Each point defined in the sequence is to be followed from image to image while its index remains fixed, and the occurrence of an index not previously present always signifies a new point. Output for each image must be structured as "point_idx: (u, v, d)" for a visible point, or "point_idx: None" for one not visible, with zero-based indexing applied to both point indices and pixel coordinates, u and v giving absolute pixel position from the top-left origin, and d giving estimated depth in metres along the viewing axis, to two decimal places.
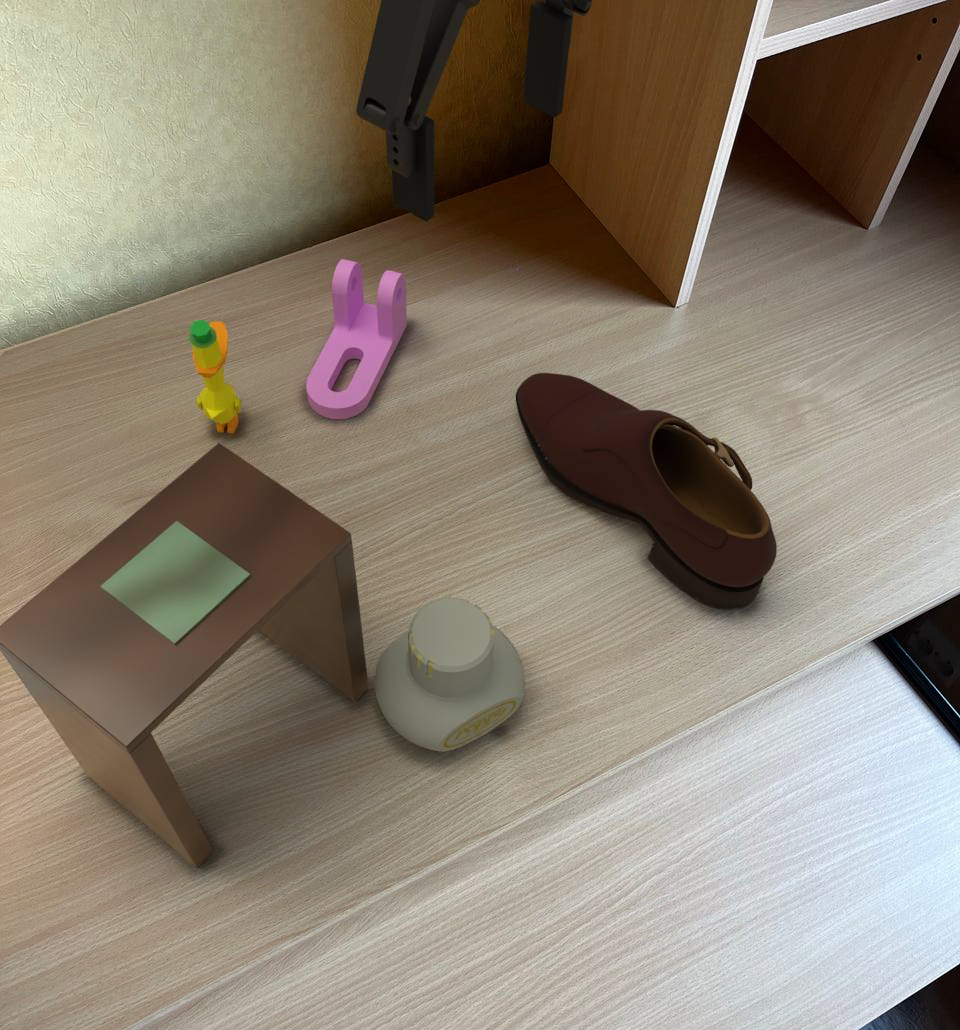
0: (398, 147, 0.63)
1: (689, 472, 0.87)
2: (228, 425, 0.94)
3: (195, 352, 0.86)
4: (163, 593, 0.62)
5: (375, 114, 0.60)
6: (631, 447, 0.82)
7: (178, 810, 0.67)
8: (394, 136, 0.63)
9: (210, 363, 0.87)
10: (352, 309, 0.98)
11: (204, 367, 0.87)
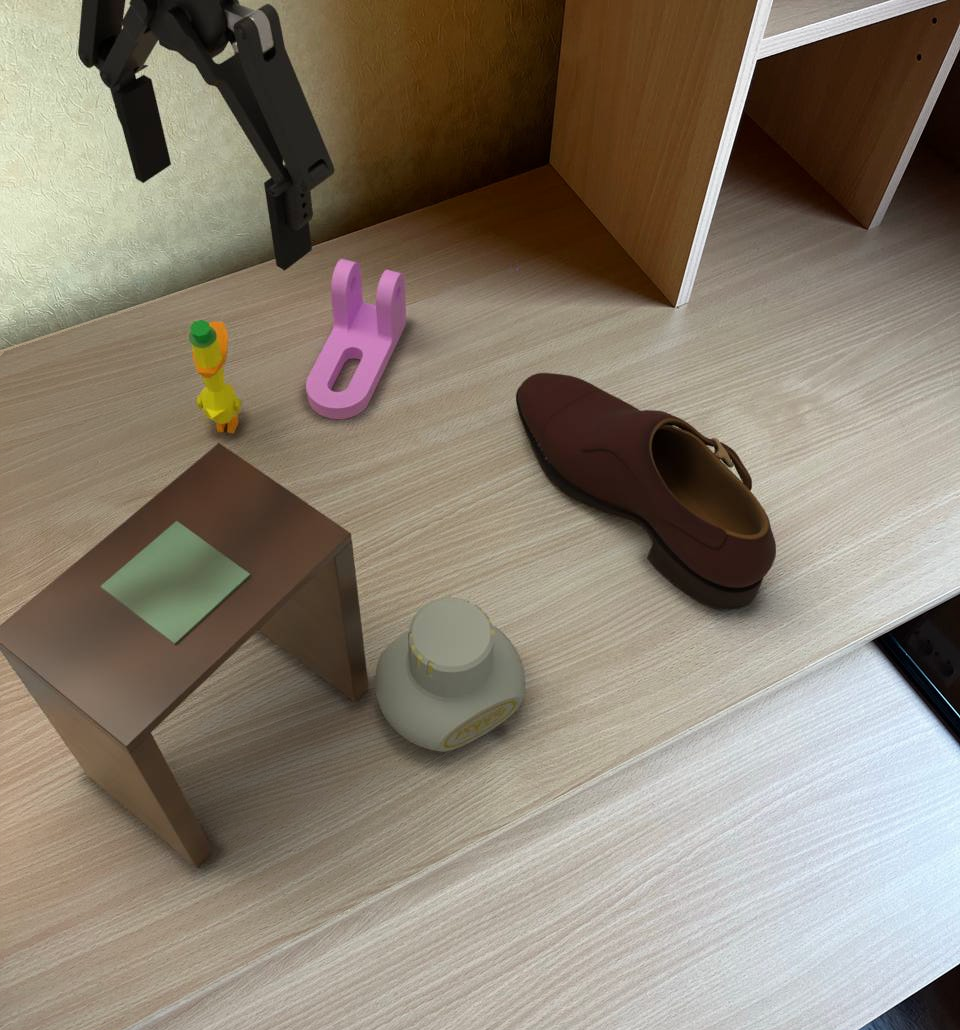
0: (306, 199, 0.69)
1: (689, 472, 0.87)
2: (228, 425, 0.94)
3: (195, 352, 0.86)
4: (163, 593, 0.62)
5: (320, 172, 0.66)
6: (630, 447, 0.82)
7: (178, 810, 0.67)
8: (299, 195, 0.69)
9: (210, 363, 0.87)
10: (351, 308, 0.98)
11: (204, 367, 0.87)
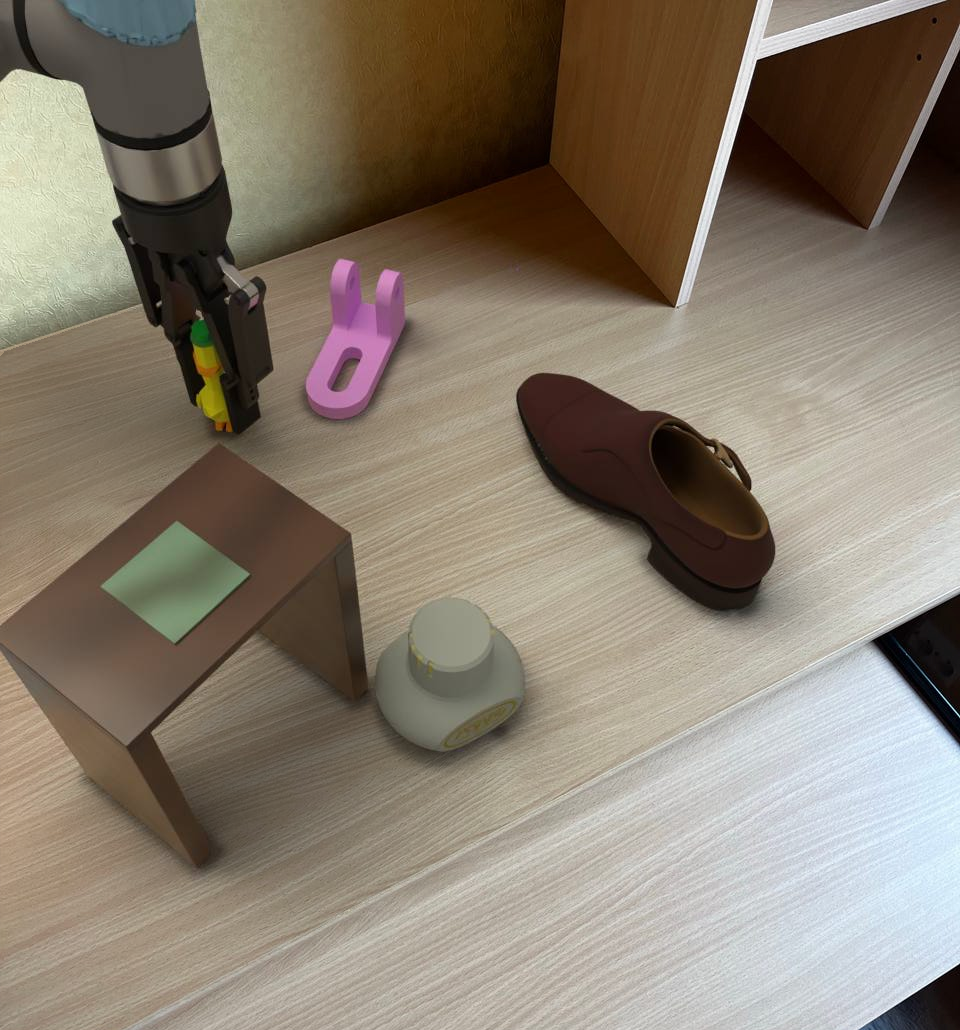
0: (253, 387, 0.88)
1: (689, 473, 0.87)
2: (227, 424, 0.94)
3: (196, 352, 0.86)
4: (163, 593, 0.62)
5: (263, 375, 0.85)
6: (630, 448, 0.82)
7: (178, 810, 0.67)
8: None
9: (210, 363, 0.87)
10: (350, 308, 0.98)
11: (204, 367, 0.87)
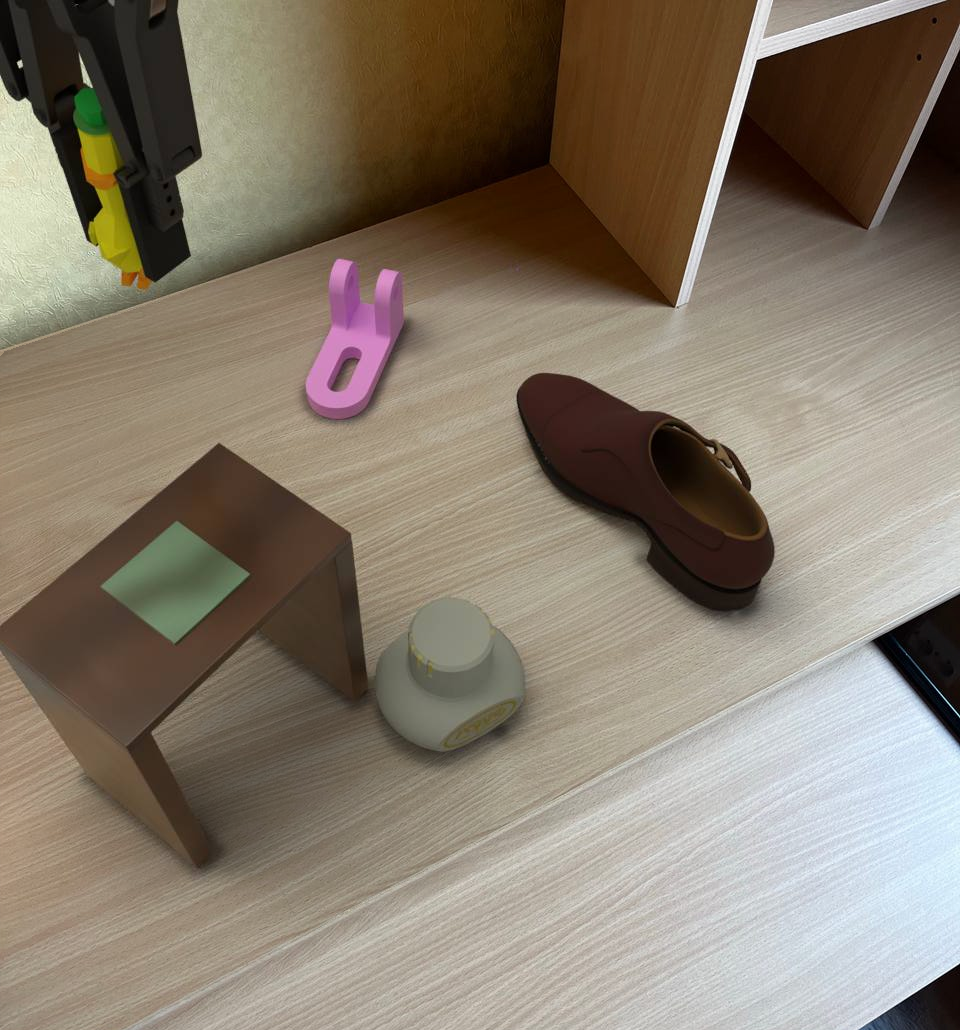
0: (171, 192, 0.54)
1: (689, 473, 0.87)
2: (139, 276, 0.62)
3: (83, 143, 0.53)
4: (163, 593, 0.62)
5: (185, 162, 0.52)
6: (630, 448, 0.82)
7: (178, 810, 0.67)
8: (162, 187, 0.54)
9: (107, 166, 0.54)
10: (349, 308, 0.98)
11: (97, 171, 0.54)
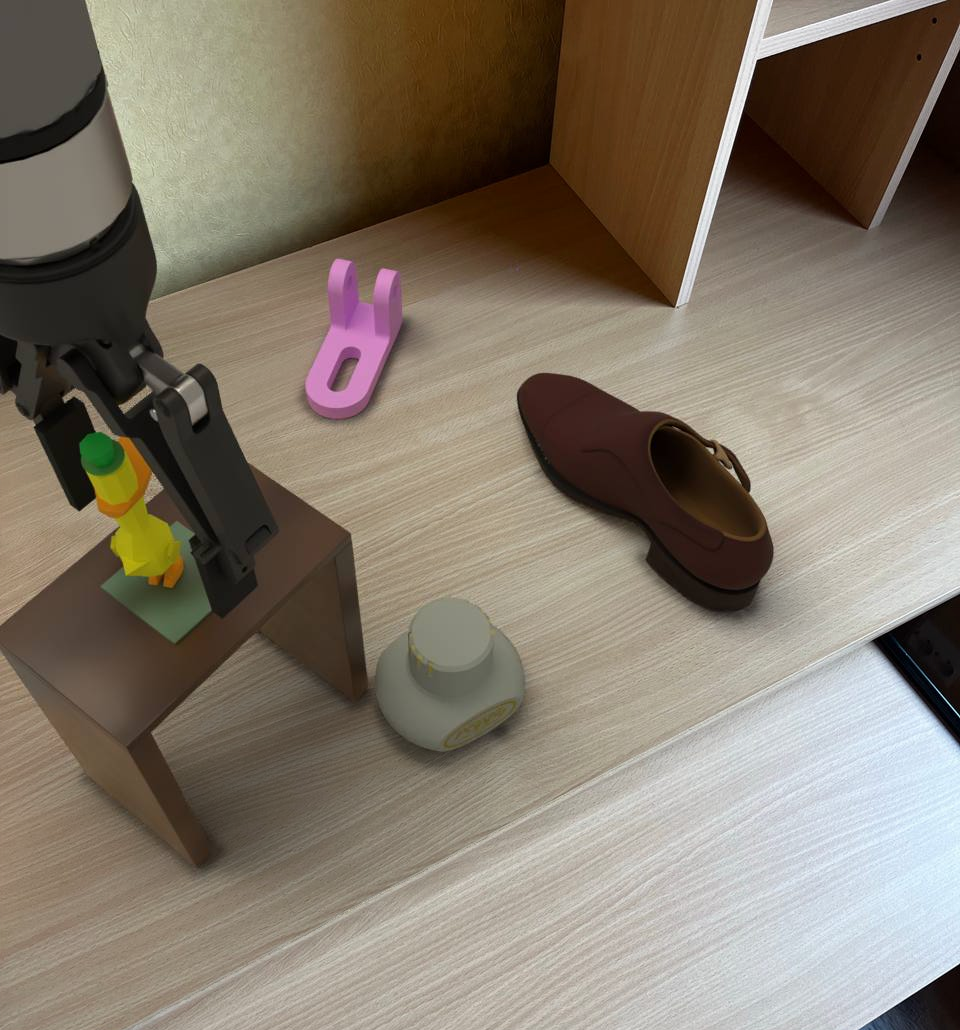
0: None
1: (688, 474, 0.87)
2: (165, 575, 0.62)
3: (92, 480, 0.54)
4: (163, 593, 0.62)
5: (260, 541, 0.51)
6: (629, 448, 0.82)
7: (178, 810, 0.67)
8: None
9: (117, 497, 0.55)
10: (348, 308, 0.98)
11: (108, 502, 0.55)
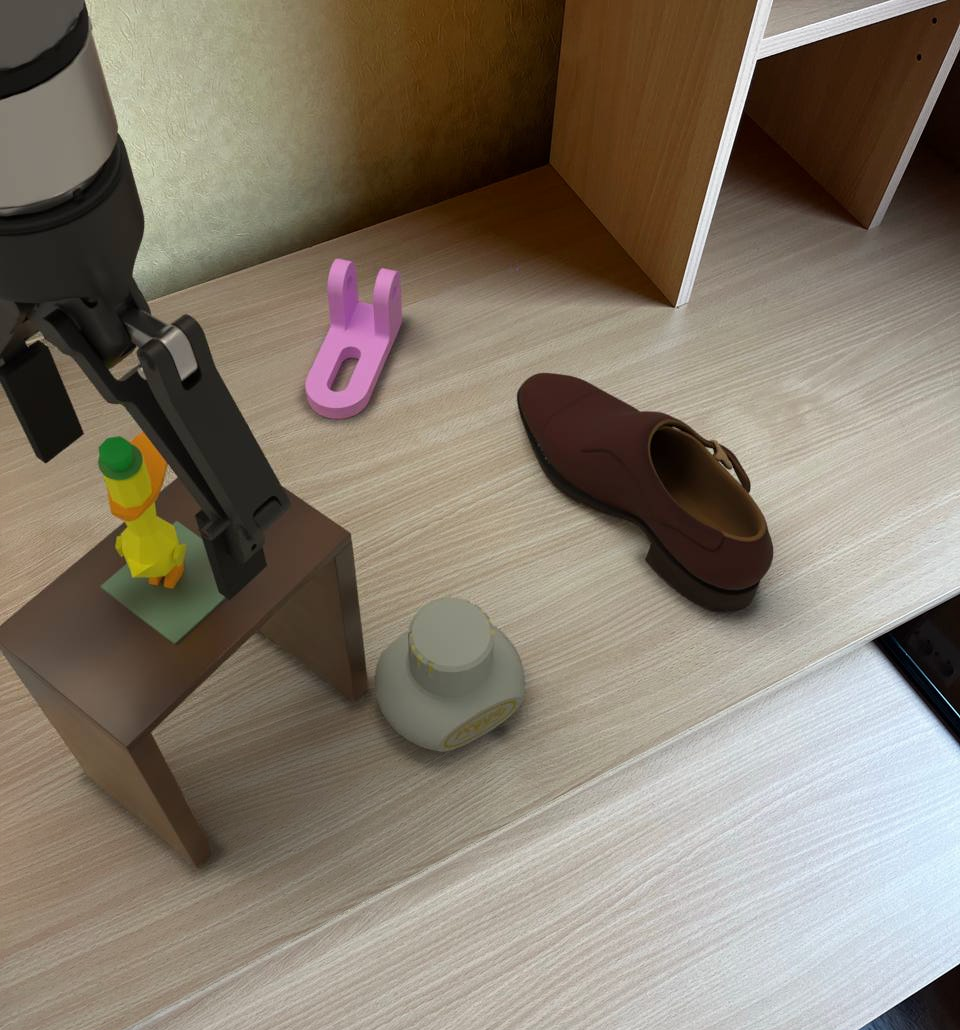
0: None
1: (688, 474, 0.87)
2: (166, 576, 0.63)
3: (107, 484, 0.54)
4: (163, 593, 0.62)
5: (271, 513, 0.48)
6: (629, 448, 0.82)
7: (178, 810, 0.67)
8: None
9: (131, 501, 0.55)
10: (347, 308, 0.98)
11: (122, 505, 0.55)
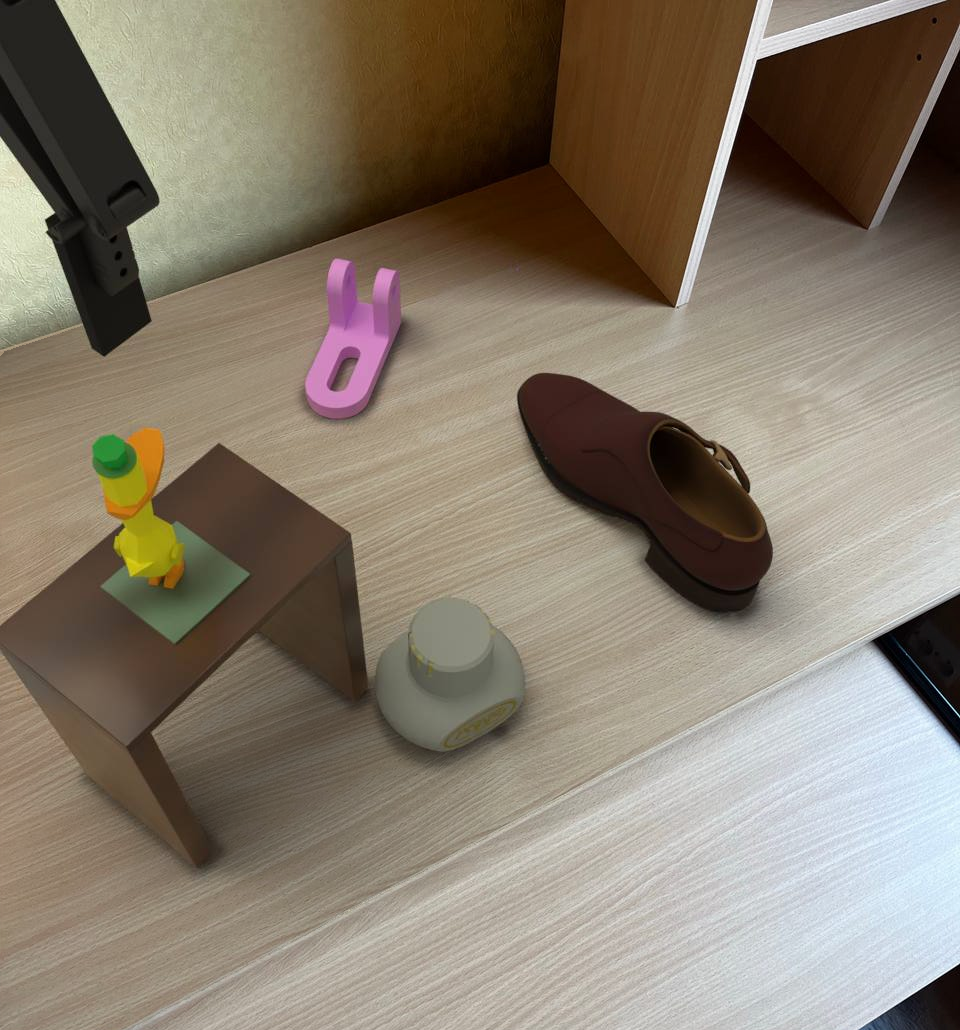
0: (121, 246, 0.41)
1: (688, 475, 0.87)
2: (166, 576, 0.63)
3: (102, 482, 0.54)
4: (163, 593, 0.62)
5: (131, 203, 0.38)
6: (629, 448, 0.82)
7: (178, 810, 0.67)
8: (108, 240, 0.41)
9: (126, 499, 0.55)
10: (347, 308, 0.98)
11: (117, 504, 0.55)
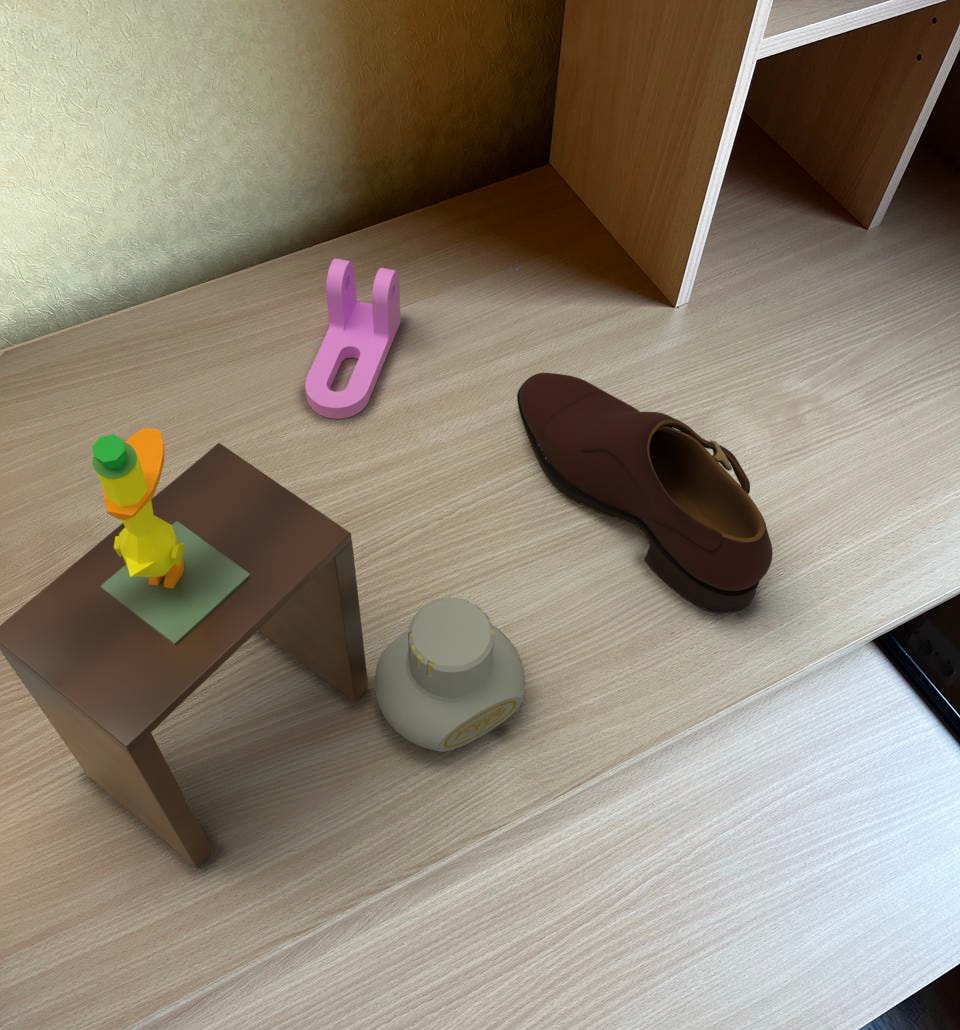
0: None
1: (688, 475, 0.87)
2: (166, 576, 0.63)
3: (102, 482, 0.54)
4: (163, 593, 0.62)
5: None
6: (629, 448, 0.82)
7: (178, 810, 0.67)
8: None
9: (126, 499, 0.55)
10: (346, 308, 0.98)
11: (117, 504, 0.55)
